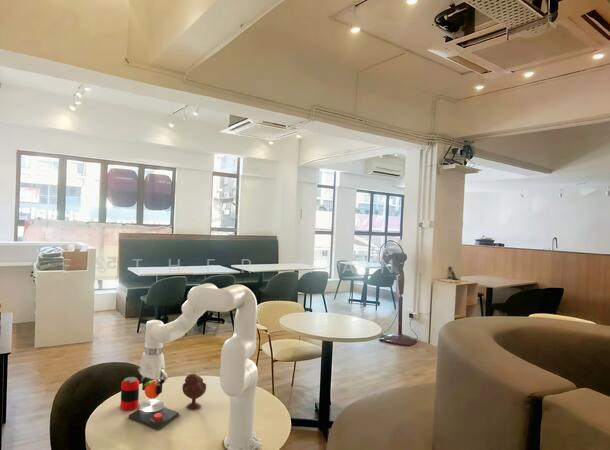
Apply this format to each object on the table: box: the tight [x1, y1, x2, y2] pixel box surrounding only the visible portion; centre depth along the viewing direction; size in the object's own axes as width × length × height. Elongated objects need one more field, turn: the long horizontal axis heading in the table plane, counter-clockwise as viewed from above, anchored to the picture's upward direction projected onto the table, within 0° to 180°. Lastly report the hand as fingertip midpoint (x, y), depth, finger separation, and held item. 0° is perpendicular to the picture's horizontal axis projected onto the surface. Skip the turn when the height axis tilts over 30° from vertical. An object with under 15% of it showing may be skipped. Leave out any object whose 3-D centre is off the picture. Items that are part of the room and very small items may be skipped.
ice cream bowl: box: [181, 373, 207, 411], centre depth 165 cm, size 11×11×15 cm
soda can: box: [120, 376, 140, 411], centre depth 163 cm, size 8×8×12 cm
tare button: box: [154, 413, 162, 421], centre depth 149 cm, size 3×3×2 cm
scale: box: [128, 406, 180, 431], centre depth 155 cm, size 16×14×3 cm
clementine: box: [143, 380, 160, 399], centre depth 158 cm, size 8×7×7 cm
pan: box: [137, 398, 165, 414], centre depth 157 cm, size 11×11×1 cm
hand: (152, 391), depth 157 cm, fingers closed on clementine, 7 cm apart
